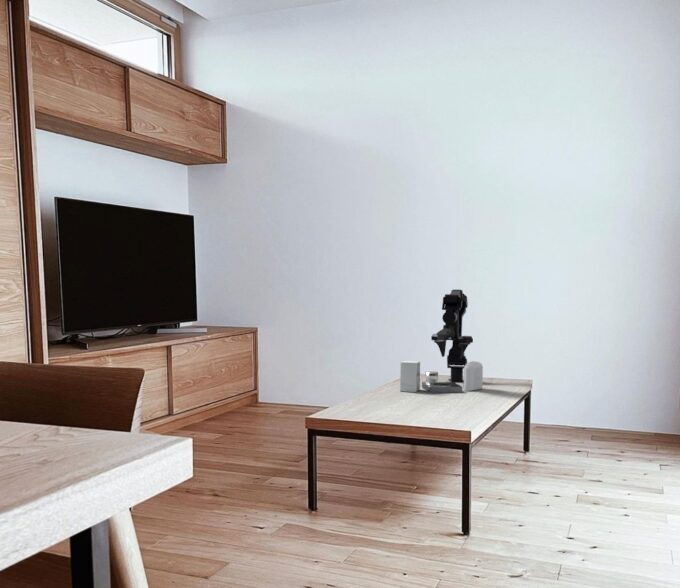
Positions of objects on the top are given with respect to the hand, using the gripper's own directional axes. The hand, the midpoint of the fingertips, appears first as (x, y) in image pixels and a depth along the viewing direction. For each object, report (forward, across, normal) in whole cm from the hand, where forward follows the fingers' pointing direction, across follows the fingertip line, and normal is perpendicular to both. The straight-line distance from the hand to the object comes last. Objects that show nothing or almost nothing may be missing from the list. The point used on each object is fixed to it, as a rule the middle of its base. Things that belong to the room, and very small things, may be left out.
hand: (451, 357), depth 302 cm
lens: (+14, -10, -1) cm, 17 cm away
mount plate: (+13, +1, -8) cm, 16 cm away
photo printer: (+14, +10, +3) cm, 17 cm away
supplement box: (+13, -8, -19) cm, 25 cm away
